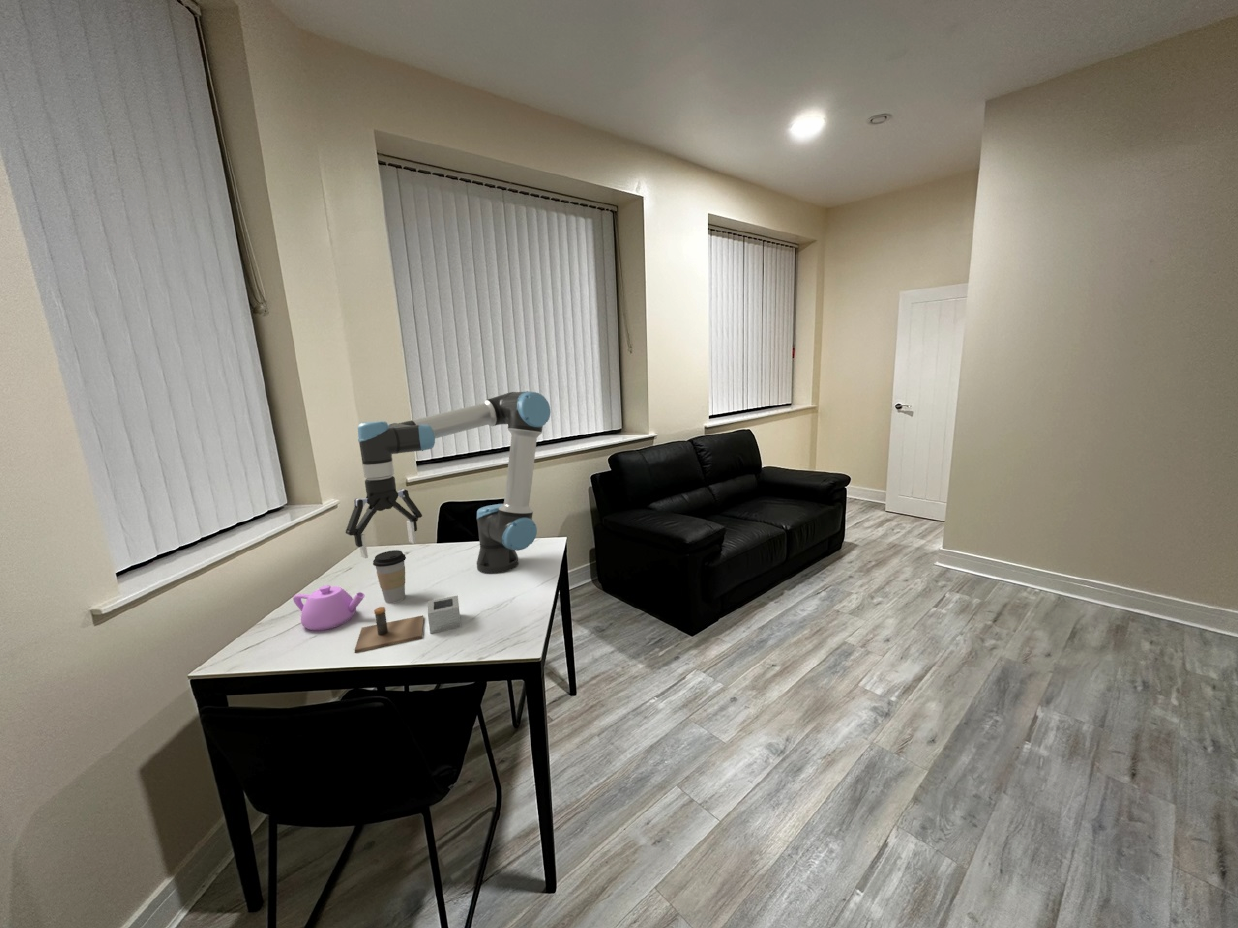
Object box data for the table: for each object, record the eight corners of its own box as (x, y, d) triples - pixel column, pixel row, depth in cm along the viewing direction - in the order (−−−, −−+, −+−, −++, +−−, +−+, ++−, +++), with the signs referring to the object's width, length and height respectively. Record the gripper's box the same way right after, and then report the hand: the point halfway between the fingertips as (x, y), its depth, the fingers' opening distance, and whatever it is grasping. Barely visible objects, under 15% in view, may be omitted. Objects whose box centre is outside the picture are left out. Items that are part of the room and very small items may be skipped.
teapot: (355, 630, 129) (350, 595, 127) (282, 634, 128) (276, 599, 126) (378, 606, 143) (374, 574, 141) (312, 610, 142) (307, 578, 140)
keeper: (423, 617, 135) (420, 592, 133) (422, 638, 123) (418, 611, 122) (362, 630, 129) (358, 604, 128) (354, 652, 118) (350, 624, 116)
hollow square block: (459, 614, 136) (457, 595, 135) (460, 627, 128) (458, 607, 127) (430, 620, 133) (428, 600, 132) (430, 633, 126) (427, 613, 124)
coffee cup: (398, 606, 142) (391, 561, 139) (371, 605, 144) (365, 559, 141) (417, 593, 151) (411, 549, 148) (392, 591, 153) (386, 548, 150)
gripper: (416, 468, 140) (424, 534, 143) (324, 484, 121) (336, 560, 125) (428, 470, 135) (436, 539, 139) (335, 487, 116) (347, 566, 120)
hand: (389, 549), depth 132 cm, fingers open, 13 cm apart
